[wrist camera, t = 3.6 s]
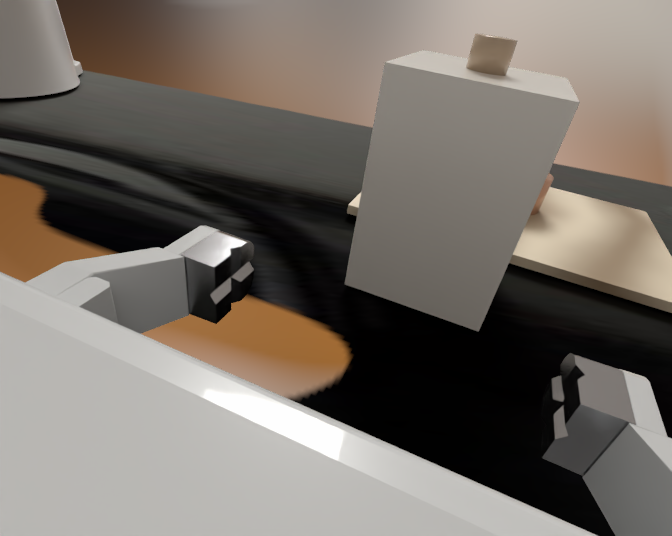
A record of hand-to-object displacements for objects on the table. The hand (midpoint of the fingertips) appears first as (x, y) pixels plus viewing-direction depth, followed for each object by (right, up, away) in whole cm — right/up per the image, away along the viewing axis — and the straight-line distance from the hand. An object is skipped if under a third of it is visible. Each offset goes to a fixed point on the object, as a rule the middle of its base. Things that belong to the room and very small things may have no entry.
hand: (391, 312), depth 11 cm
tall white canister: (+3, +1, +12) cm, 12 cm away
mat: (+11, +5, +19) cm, 23 cm away
